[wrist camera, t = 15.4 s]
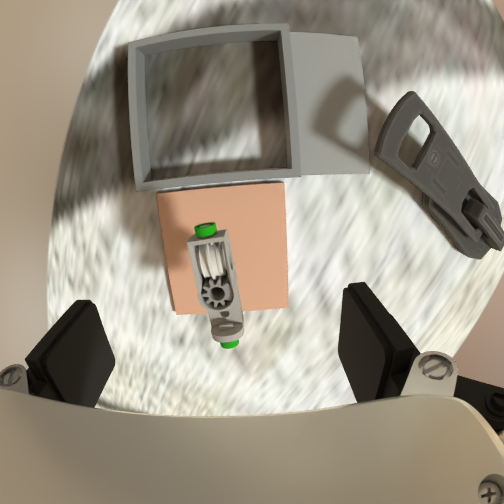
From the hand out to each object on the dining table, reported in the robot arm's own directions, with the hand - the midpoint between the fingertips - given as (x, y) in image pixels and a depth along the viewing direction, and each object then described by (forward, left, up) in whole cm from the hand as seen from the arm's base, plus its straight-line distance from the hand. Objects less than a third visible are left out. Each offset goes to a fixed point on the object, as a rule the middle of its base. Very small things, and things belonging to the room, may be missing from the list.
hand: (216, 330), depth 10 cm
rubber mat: (+1, +4, -21) cm, 22 cm away
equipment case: (-3, -11, -21) cm, 24 cm away
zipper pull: (-25, -2, -22) cm, 33 cm away
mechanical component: (+1, +4, -21) cm, 21 cm away
